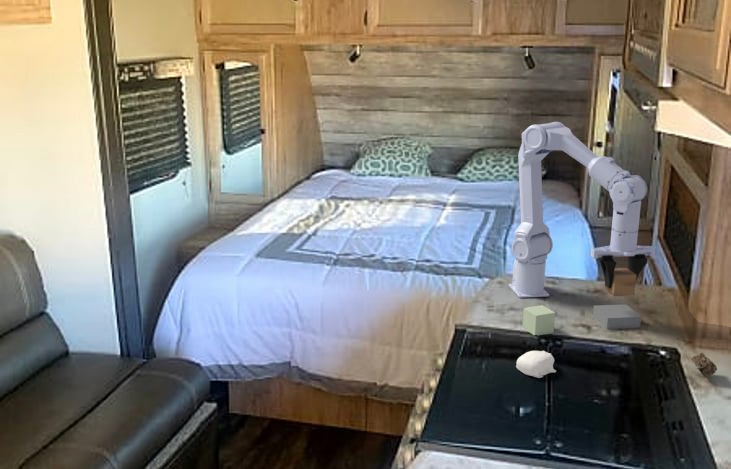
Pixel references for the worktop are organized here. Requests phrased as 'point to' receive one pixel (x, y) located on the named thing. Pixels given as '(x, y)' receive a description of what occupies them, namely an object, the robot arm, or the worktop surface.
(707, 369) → the rock
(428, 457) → the worktop surface
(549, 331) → the sage cube
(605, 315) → the slate tile
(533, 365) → the white frog figurine
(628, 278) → the walnut cube
